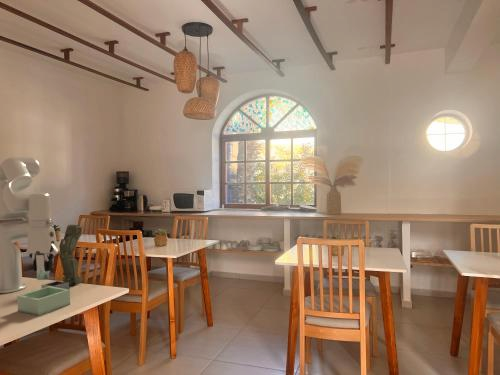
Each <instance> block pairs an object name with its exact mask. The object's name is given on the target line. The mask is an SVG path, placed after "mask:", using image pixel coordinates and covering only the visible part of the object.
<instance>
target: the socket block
mask: <svg viewBox="0 0 500 375" xmlns="http://www.w3.org/2000/svg"><path fill="white" fill-rule="evenodd" d="M48 286H51V287H57V288H62V289H68V290H70V288H71V287H69V282H64V281H63V280H55V281H52V282H48V283H45V284H42V285H41V287H40V289H42V288H45V287H48ZM70 291H71V290H70Z"/></svg>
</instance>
